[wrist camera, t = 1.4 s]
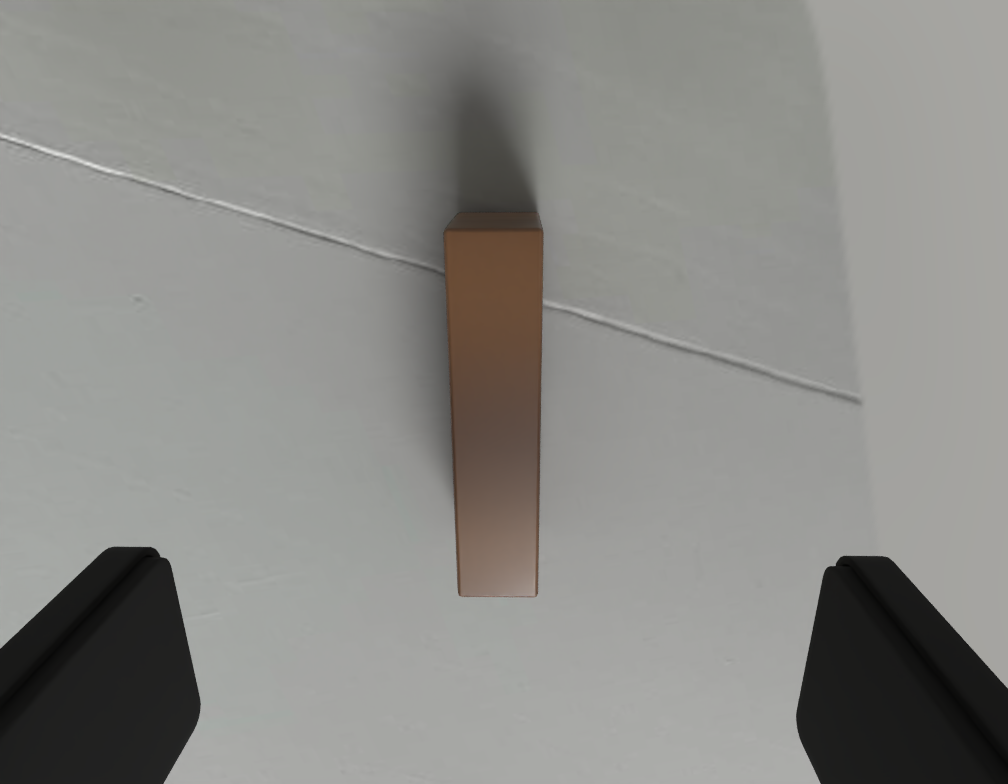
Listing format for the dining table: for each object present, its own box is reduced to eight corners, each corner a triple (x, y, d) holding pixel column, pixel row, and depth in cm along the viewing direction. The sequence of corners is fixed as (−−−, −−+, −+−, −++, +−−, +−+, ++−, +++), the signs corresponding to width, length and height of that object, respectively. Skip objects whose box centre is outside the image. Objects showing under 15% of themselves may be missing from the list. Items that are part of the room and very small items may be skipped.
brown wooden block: (456, 212, 16) (442, 228, 13) (539, 211, 16) (543, 227, 13) (467, 530, 19) (457, 598, 16) (535, 530, 19) (538, 598, 16)
